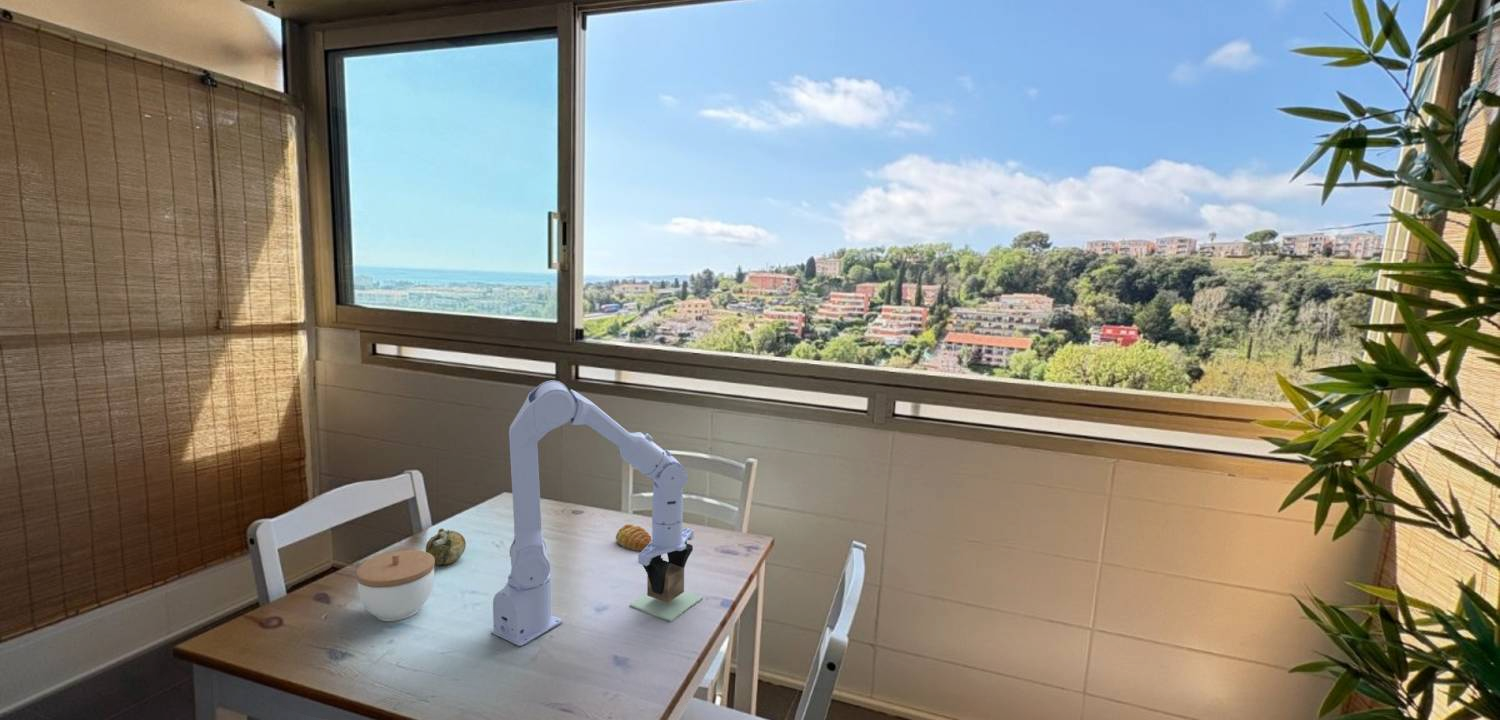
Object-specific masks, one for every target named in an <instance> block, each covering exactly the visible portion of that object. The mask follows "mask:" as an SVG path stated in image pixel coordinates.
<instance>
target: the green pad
mask: <svg viewBox="0 0 1500 720" xmlns="http://www.w3.org/2000/svg"><path fill="white" fill-rule="evenodd" d="M701 599H702V600H703V599H704V598H703V596H701V595H698V594H695V593H692V592H689V591H687V590H684V592H683V593H682V594H680V595H679V596H677V597H676V598H674V599H673V600H672V601H670V602H669V603H667V602H664V601H661V600H658V599H656V598H653V597H650V596H647V592H646V593H645V594H643V595H641V596H640V597H638V598H637V599H635V600H634V601H632V602H631V603H629V607H631V608H634V609H636V610H639V611H642V612H644V613H647V614H649V615H651V616H654V617H658V618H659V619H663V620H665V621H667V620H669V621H668V622H670V621H672V622H673V621H674V620H675V618H676V617H677V618H678V617H680V616H681V615H682V614H681V613H683V612H684V611H685V612H687V611H688V610H690V607H691V606H692V607H693V605H694V604H695V603H696V604H698V603H699V602H701V601H702V600H701ZM698 601H699V602H698ZM697 602H698V603H697ZM696 604H695V605H696ZM695 605H694V606H695ZM692 607H691V608H692ZM687 609H688V610H687ZM686 610H687V611H686ZM685 612H684V613H685ZM684 613H683V614H684ZM680 614H681V615H680ZM679 615H680V616H679ZM677 618H676V619H677Z"/></svg>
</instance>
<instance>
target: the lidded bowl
mask: <svg viewBox="0 0 1500 720" xmlns="http://www.w3.org/2000/svg"><path fill="white" fill-rule="evenodd" d="M435 565H436V564H435V559H434V557H433V556H432V555H431V554H430V553H428V552H426V550H425V551H424V550H419V549H418V550H417V549H416V550H415V549H409V550H407V549H406V550H398V551H392V552H388V553H383V554H380V555H377V556H375V557H372V558H369V559H368V560H366V561H364V562H363V563H361V564H360V565H359V567H358V568H357V569H356V571H355V577H356V581H357V591H358V595H359V599H360V602H361V604H362V605H363V607H364V609H365V610H366V611H367V612H368V613H370V615H373V616H374V617H376V618H377V619H378V620H379V621H382V622H397V621H401V620H405V619H408V618H410V617H412V616H414V615H415V614H417V613H418V612H419V611H420V610H421V607H422V606H423V605H424V604H425V603H426V602H427V600H428V599H429V597H430V595H431V593H432V590H433V588H434V583H435V582H434V580H435Z"/></svg>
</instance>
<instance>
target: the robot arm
mask: <svg viewBox="0 0 1500 720" xmlns="http://www.w3.org/2000/svg"><path fill="white" fill-rule="evenodd" d="M570 391H571V393H570ZM570 391H569V389H568V387H567V386H566V385H565V384H564V383H562V382H561V381H559V380H547V381H544V382H541V383H540V384H539V385H538V386H537V387H535V388H534V389H532V390H531V391H530V392H529V393H528V395H527V397H526V399H525V401H524V403H523V405H522V407H520V409H519V411H518V413H517V414H516V416H515V418H514V419H513V421H512V422H511V424H510V426H509V430H508V436H509V437H508V439H509V453H510V454H509V456H510V472H511V473H510V475H511V490H512V493H511V494H512V511H513V531H514V532H513V533H514V536H513V537H514V538H513V540H512V543H511V545H510V547H509V557H510V562H511V563H510V564H511V570H510V574H509V575H508V577H507V583H506V584H505V586H504V587H503V588H501V590H500V591H498V592H496V593H495V594H494V595H493V596H494V597H493V599H492V601H493V602H492V610H493V611H492V612H493V613H492V614H493V615H492V617H493V628H492V629H491V630H490V633H491V634H493V635H495V636H498V637H500V638H502V639H503V640H506V641H507V642H510V643H512V644H514V645H516V646H518V647H522V646H525V644H528V643H529V642H531V641H533V640H534V639H537V637H540V636H541V635H543V634H544V633H546V632H548V631H549V630H551V629H553V628H555V627H556V626H558V625H560V624H562V623H563V619H562V618H561V617H558V616H556V615H553V614H552V572H551V565H550V561H549V559H548V555H547V543H546V541H545V540H544V539H543V529H542V511H541V510H542V509H541V492H540V490H541V489H540V488H541V487H540V472H539V471H540V470H539V447H538V442H539V441H541V439H543V438H544V437H545V436H546V435H547V434H548V433H550V431H552V430H555V429H557V428H558V427H561V426H564V425H565V424H566V423H569V421H570V423H571V424H572V426H577V425H578V426H581V425H587V426H589V427H590V428H592V429H593V430H595V431H596V432H597V433H598V434H600V435H602V436H603V437H604V438H606V439H607V440H609V441H610V442H612V443H613V444H614V445H616V446H617V447H619V455H620V458H621V459H622V460H624V461H625V462H626V463H628V464H629V465H630V466H631V467H633V468H634V469H636V470H637V471H639V473H641V474H643V476H645V477H648V478H650V479H651V480H653V481H654V482H653V483H652V484H653V486H652V491H653V493H652V511H651V512H652V521H651V522H652V523H651V524H652V525H651V526H652V527H651V528H652V531H651V534H652V535H651V539H652V540H651V542H650V543H649V544H648V545H647V546H646V548H645V549H644V550H643V551H640V552H639V553H638V554H637V556H638V557H637V558H638V559H637V560H638V561H637V563H638V564H639V565H642V567H643V568H644V570H645V572H646V574H647V575H648V577H649V580H650V584H651V588H652V592H655V593H657V594H662V593H663V590H664V582H665V575H666V571H667V568H668V565H669V563H671V564H674V565H677V566H680V567H683V568H684V569H685V567H686V564H687V562H688V559H689V556H690V555H691V553H692V552H693V549H694V547H693V545H692V544H690V543H688V541H693V540H694V538H695V537H694V536H695V535H694V534H695V533H694V531H695V530H694V529H692V528H688V527H685V528H684V527H683V513H684V510H683V507H684V506H683V505H684V503H683V502H684V496H683V491H684V490H683V489H684V487H685V486H686V484H687V482H688V478H689V477H688V475H687V472H686V469H685V467H684V466H683V464H681V462H679V460H678V459H677V458H675V457H674V456H673V454H672V453H671V451H669V450H668V449H663V448H662V447H660V446H659V445H658V444H657V443H655V442H654V441H653V440H654V438H653V437H652V436H651V434H649V433H645V434H644V433H643V432H640V431H637V432H636V431H635V432H630V431H628V430H626V429H625V428H624V427H623V426H621V424H619V423H618V422H617V421H616V420H614V419H613V418H612V417H610V416H609V414H607V413H606V412H604V410H603V409H601V408H600V407H599V406H598V405H596V404H595V403H593V401H591V400H589V398H586V397H585V396H583V395H582V394H580V393H579V392H577V391H576V390H574V389H571V388H570ZM662 555H667V560H668V561H667V560H664V558H663V557H662Z"/></svg>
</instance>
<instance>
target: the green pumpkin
mask: <svg viewBox="0 0 1500 720" xmlns="http://www.w3.org/2000/svg"><path fill="white" fill-rule="evenodd" d="M437 531H438V532H437V533H436V534H435V535H433V536H431V537H430V538H429V540H428V541H427V542H426V544H425V552H428V553H430V554H431V555H432V556H433V557H434V559H435V565H438V566H445V565H450V564H453V563H454V562H455V563H456V561H458V560H459V559H460V558H461V557H462V555H463V554H464V553H465V550H466V547H467V546H466V539H465V537H464V536H463V535H462V534H461V533H459V532H458V531H455V530H452V529H451V530H449V529H447V530H445V529H444V528H439V529H438V530H437Z"/></svg>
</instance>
